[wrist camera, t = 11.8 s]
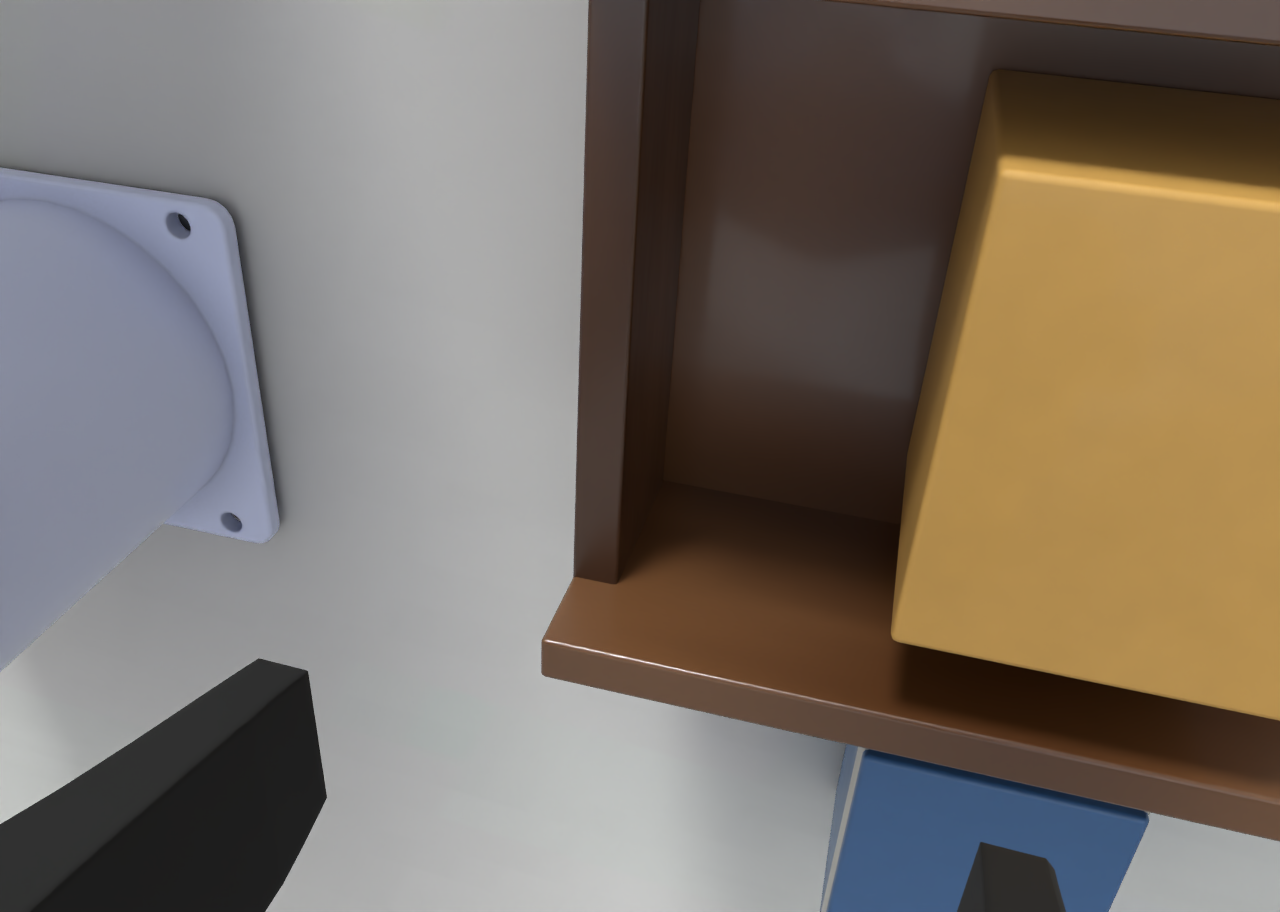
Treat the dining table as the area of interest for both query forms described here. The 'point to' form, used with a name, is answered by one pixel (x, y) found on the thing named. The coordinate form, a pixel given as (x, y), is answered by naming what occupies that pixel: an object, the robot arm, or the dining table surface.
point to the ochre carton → (1106, 397)
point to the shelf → (833, 377)
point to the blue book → (962, 836)
